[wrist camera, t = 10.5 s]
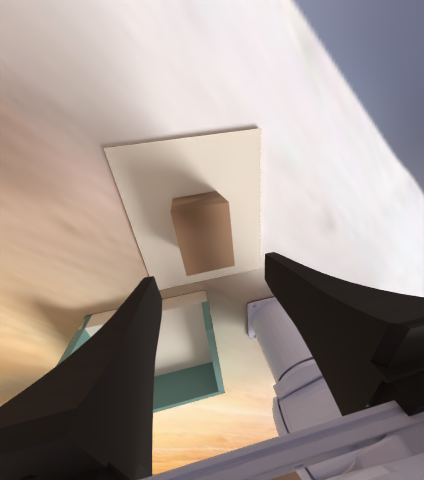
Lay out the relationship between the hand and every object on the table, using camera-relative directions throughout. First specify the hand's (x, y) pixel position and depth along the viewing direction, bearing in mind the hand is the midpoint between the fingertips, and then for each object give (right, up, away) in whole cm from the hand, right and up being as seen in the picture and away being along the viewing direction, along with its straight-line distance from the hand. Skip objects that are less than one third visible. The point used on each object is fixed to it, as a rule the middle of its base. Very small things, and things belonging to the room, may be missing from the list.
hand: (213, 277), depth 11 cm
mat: (-2, +5, +8) cm, 9 cm away
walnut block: (-1, +4, +8) cm, 9 cm away
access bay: (-8, -12, +15) cm, 21 cm away
